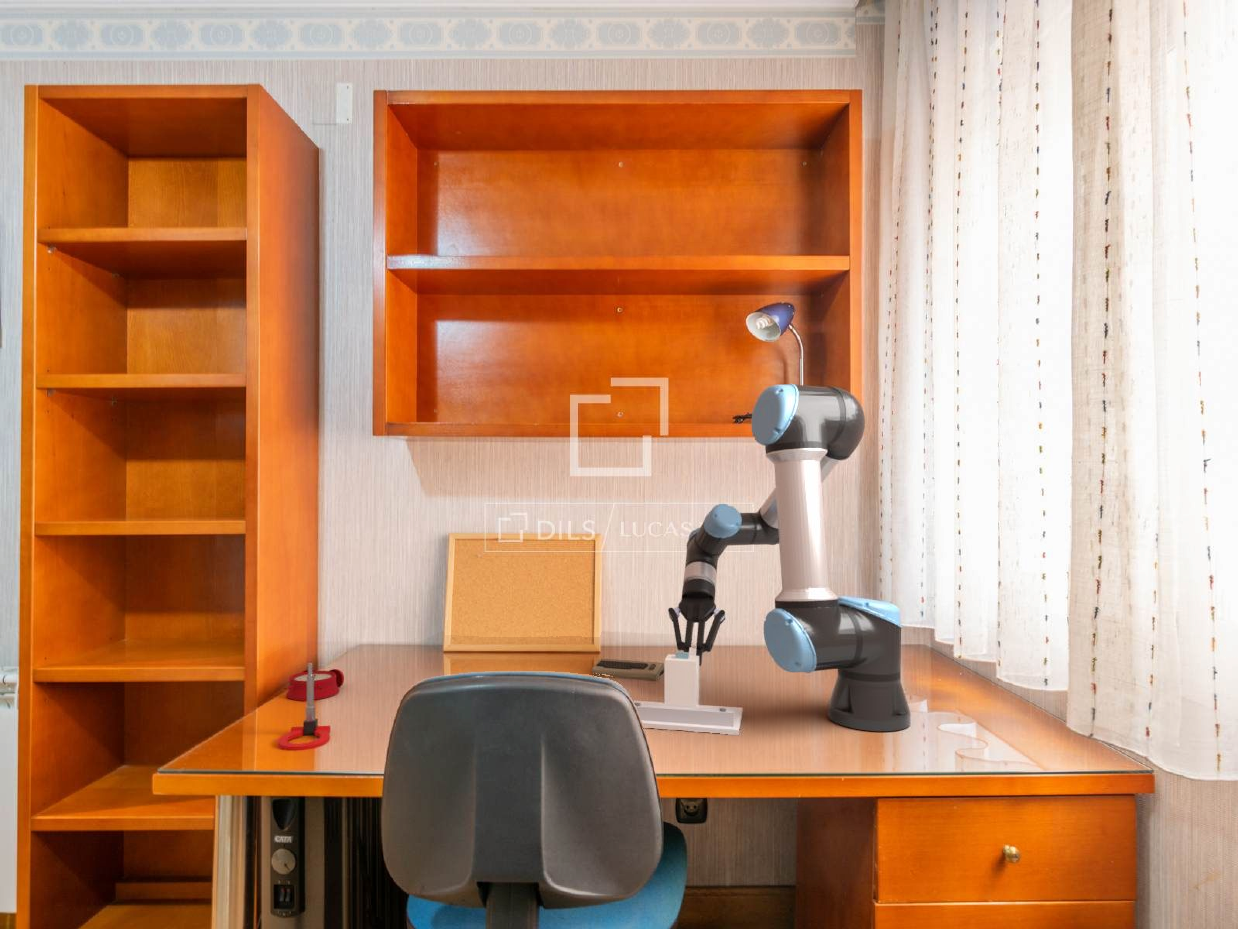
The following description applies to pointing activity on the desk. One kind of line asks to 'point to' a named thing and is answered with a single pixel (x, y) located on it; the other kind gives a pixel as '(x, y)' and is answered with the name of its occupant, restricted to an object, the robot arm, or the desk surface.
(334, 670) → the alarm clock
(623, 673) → the computer
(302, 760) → the desk surface
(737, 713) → the panel board
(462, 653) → the desk surface
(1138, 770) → the desk surface
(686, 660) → the block
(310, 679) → the tow hook
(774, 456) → the robot arm
